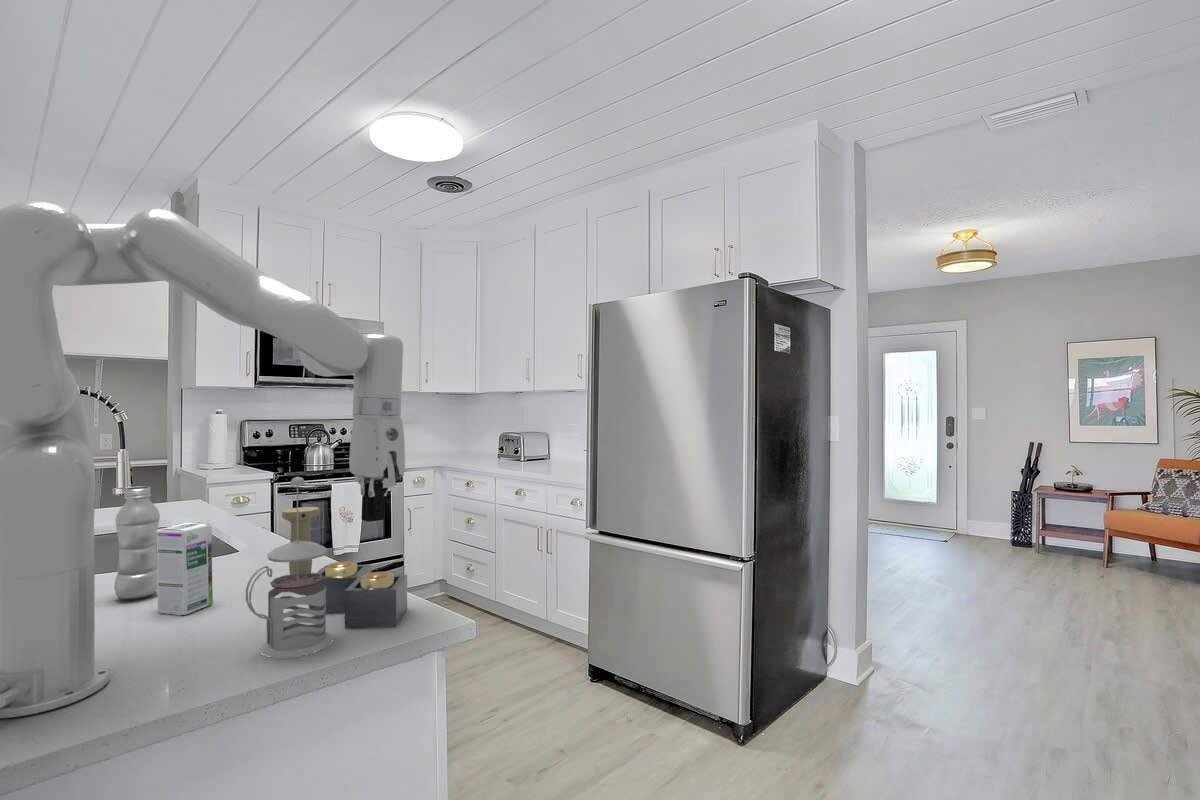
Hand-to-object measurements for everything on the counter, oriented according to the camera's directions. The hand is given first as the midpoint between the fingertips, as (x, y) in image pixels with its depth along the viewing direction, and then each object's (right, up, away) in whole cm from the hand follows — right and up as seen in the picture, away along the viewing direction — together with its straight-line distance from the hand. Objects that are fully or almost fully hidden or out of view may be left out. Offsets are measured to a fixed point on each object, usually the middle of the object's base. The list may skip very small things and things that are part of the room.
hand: (372, 519), depth 101 cm
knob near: (+1, -15, +1) cm, 15 cm away
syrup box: (-34, -17, +4) cm, 38 cm away
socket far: (-8, -16, +7) cm, 20 cm away
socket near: (0, -17, +1) cm, 17 cm away
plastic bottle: (-47, -16, +10) cm, 50 cm away
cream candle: (-8, -15, +7) cm, 18 cm away
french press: (-8, -17, -11) cm, 22 cm away
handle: (-20, -16, +17) cm, 31 cm away
